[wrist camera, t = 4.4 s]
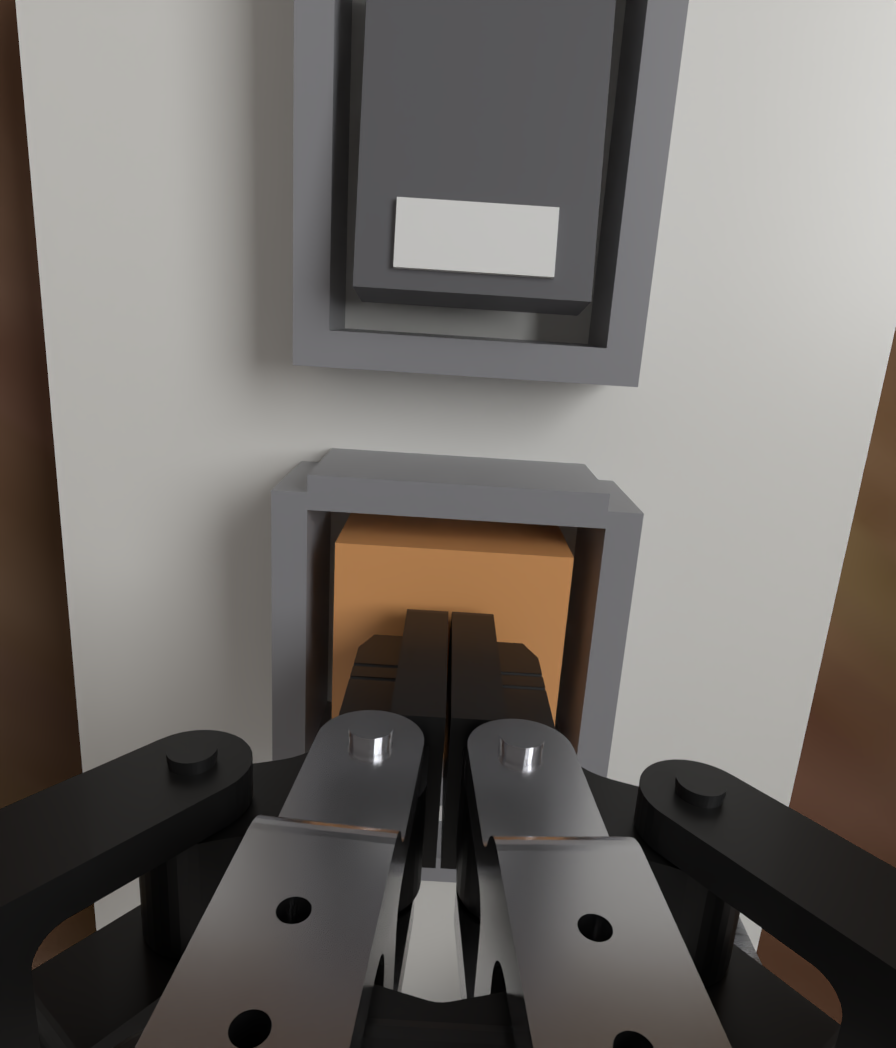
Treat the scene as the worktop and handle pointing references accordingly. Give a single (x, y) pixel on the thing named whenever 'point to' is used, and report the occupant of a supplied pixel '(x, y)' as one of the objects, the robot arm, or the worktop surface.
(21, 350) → the worktop surface
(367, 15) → the rocker switch
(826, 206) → the control panel
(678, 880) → the robot arm
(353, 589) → the push button
